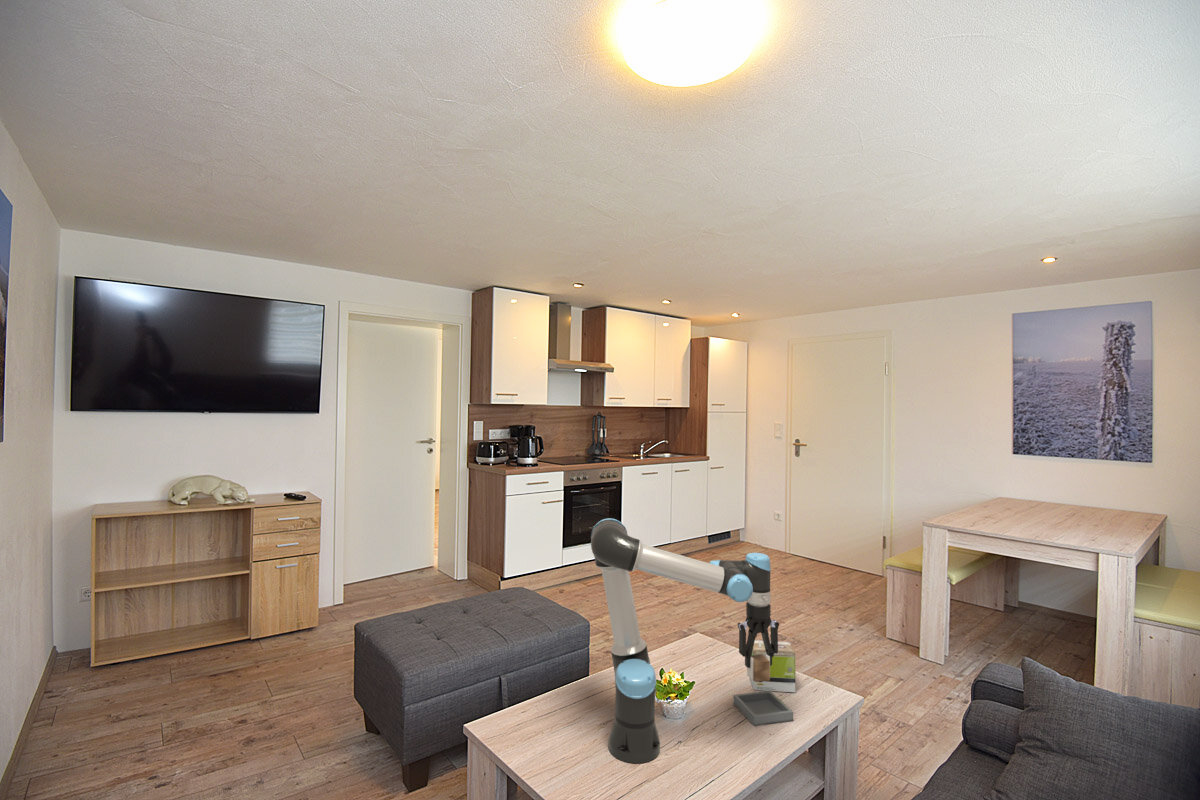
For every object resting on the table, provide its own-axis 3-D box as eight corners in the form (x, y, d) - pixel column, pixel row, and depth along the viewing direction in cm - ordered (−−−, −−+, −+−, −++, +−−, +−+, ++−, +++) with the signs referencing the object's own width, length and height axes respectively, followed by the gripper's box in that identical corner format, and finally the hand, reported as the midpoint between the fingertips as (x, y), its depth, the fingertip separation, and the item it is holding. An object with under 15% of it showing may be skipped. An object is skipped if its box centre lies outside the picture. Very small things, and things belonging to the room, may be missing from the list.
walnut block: (755, 682, 175) (755, 662, 175) (747, 674, 180) (747, 655, 180) (769, 680, 176) (769, 661, 177) (762, 673, 181) (761, 654, 181)
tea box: (789, 680, 209) (789, 640, 209) (795, 693, 199) (796, 652, 199) (748, 677, 211) (748, 638, 211) (752, 690, 201) (753, 649, 201)
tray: (754, 726, 178) (754, 716, 178) (733, 703, 191) (733, 694, 191) (793, 721, 181) (793, 711, 181) (769, 699, 195) (770, 690, 195)
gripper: (737, 609, 173) (737, 684, 173) (790, 604, 177) (790, 679, 177) (727, 601, 181) (727, 673, 180) (777, 597, 184) (778, 668, 184)
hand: (758, 676), depth 178 cm, fingers closed on walnut block, 5 cm apart
